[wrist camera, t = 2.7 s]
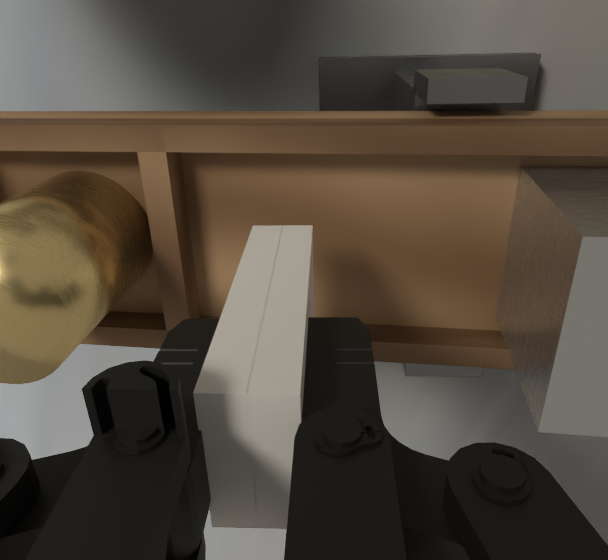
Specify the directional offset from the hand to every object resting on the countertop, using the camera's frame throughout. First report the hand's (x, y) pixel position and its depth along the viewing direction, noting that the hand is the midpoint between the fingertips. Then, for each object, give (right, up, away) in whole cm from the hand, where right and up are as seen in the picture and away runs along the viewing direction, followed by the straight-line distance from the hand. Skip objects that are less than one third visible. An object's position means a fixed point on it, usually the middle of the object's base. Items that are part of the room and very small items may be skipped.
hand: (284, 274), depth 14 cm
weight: (-6, +1, +3) cm, 7 cm away
